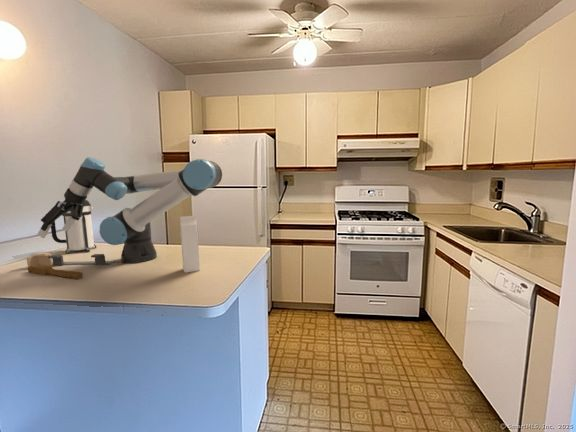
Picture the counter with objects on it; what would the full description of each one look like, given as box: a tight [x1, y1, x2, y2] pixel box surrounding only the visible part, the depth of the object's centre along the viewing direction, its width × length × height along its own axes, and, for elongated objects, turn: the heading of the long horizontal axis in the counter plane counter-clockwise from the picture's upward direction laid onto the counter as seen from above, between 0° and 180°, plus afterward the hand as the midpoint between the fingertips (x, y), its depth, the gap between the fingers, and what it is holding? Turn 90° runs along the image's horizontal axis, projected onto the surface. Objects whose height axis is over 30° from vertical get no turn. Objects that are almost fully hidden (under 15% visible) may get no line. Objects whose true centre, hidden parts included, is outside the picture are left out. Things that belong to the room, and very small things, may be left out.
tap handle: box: [27, 265, 84, 280], centre depth 125 cm, size 3×3×30 cm
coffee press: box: [50, 199, 97, 255], centre depth 164 cm, size 17×16×30 cm
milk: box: [179, 215, 201, 273], centre depth 126 cm, size 6×6×22 cm
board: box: [26, 252, 115, 268], centre depth 138 cm, size 33×9×6 cm, turn 89°
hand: (53, 233), depth 133 cm, fingers open, 13 cm apart
